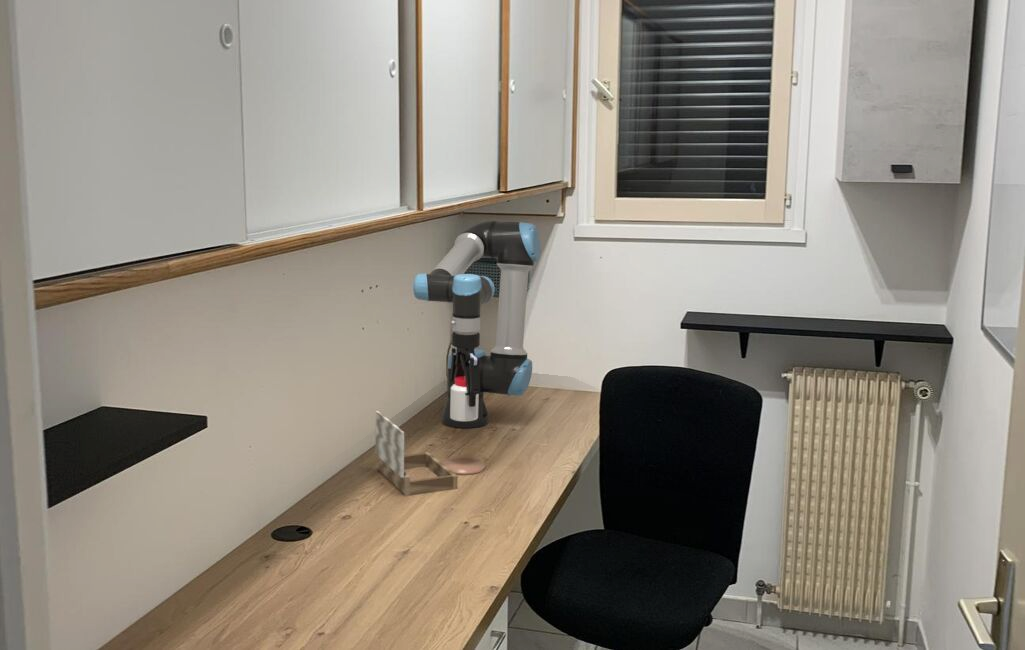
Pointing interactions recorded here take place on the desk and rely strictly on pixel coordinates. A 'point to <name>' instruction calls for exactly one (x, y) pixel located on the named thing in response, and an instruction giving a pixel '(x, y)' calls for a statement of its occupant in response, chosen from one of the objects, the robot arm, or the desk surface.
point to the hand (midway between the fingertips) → (464, 413)
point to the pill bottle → (460, 400)
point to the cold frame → (408, 462)
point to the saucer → (464, 466)
